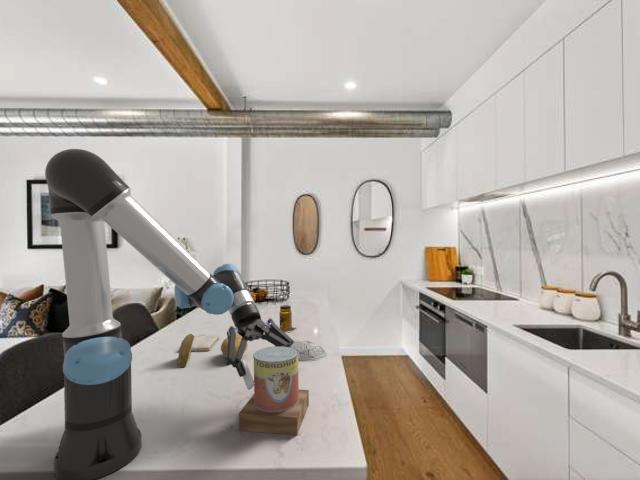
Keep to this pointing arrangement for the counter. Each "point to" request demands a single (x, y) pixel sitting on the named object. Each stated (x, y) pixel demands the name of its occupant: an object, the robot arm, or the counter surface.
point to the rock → (185, 350)
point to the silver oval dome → (308, 350)
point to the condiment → (286, 318)
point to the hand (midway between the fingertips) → (274, 378)
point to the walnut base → (274, 417)
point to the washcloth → (204, 342)
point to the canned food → (276, 379)
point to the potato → (237, 344)
